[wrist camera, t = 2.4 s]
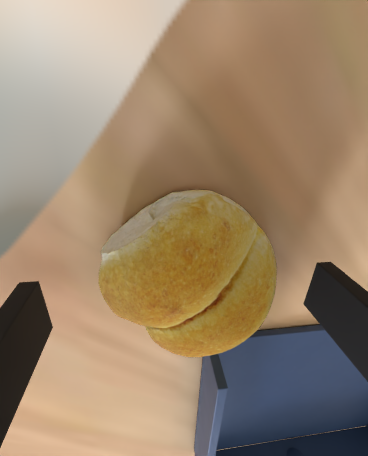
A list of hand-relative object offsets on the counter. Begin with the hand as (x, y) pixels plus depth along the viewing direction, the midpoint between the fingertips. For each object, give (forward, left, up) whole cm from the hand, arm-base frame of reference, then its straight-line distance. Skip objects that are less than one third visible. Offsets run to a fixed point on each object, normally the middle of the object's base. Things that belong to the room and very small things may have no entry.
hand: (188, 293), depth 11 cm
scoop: (+19, +11, -2) cm, 22 cm away
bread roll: (0, 0, -2) cm, 2 cm away
